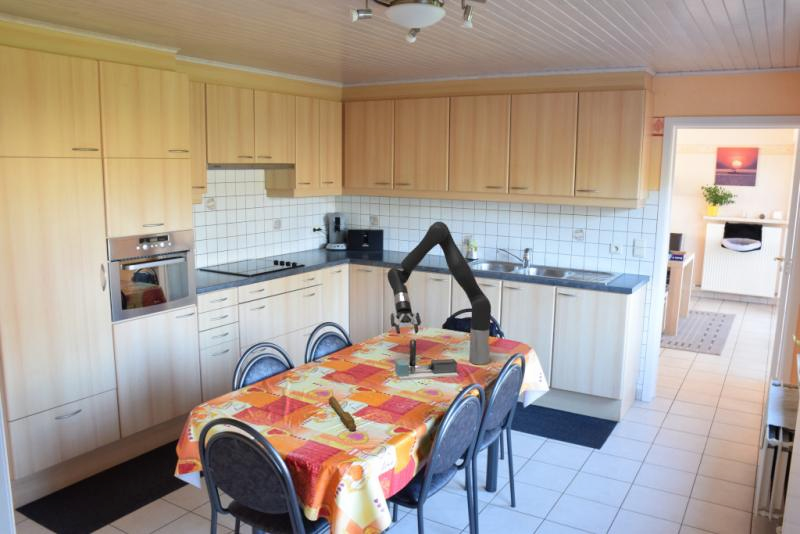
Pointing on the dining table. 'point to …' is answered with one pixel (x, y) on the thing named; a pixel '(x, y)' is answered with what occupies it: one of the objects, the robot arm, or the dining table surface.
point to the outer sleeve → (444, 366)
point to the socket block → (401, 368)
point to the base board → (425, 375)
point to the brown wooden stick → (343, 414)
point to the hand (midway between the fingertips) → (407, 332)
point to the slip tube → (412, 364)
